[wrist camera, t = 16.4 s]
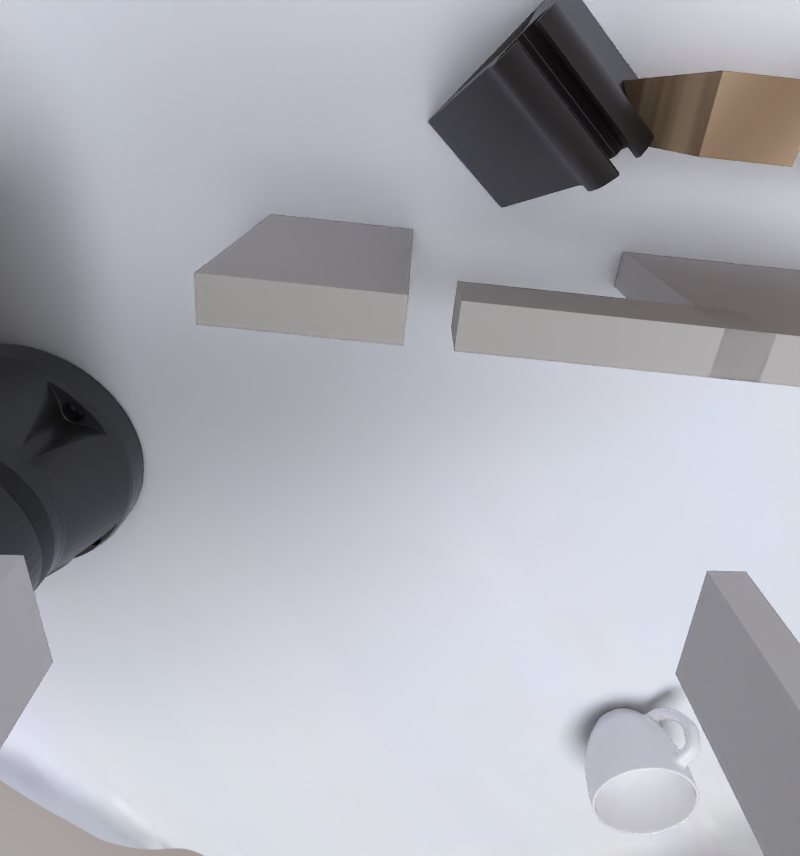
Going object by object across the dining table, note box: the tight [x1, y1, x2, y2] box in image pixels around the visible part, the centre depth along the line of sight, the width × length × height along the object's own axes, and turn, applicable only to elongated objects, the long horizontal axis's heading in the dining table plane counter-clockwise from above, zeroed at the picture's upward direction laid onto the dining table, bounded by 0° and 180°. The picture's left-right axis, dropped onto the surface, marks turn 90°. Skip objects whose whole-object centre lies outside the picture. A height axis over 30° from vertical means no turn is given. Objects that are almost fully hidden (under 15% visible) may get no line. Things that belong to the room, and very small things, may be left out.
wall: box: [194, 214, 800, 387], centre depth 31 cm, size 32×2×14 cm, turn 84°
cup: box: [585, 708, 701, 835], centre depth 51 cm, size 8×10×7 cm
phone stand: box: [428, 0, 654, 207], centre depth 29 cm, size 9×6×12 cm, turn 133°
